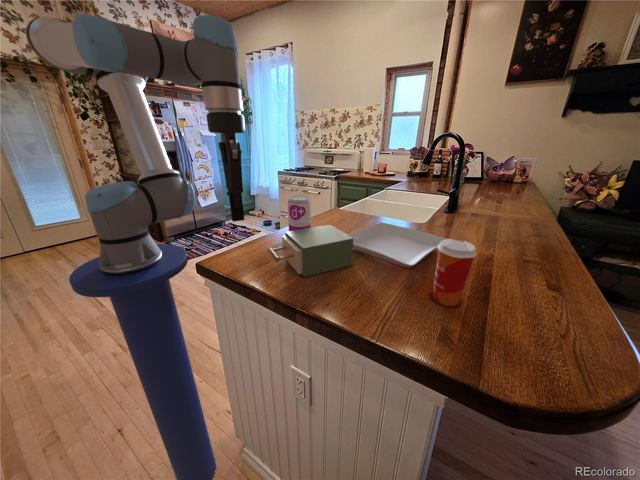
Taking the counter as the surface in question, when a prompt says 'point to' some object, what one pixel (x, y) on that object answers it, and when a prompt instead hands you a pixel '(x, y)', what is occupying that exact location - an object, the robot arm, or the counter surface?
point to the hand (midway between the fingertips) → (238, 219)
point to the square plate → (395, 243)
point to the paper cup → (452, 270)
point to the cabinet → (322, 248)
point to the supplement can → (299, 213)
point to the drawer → (289, 254)
